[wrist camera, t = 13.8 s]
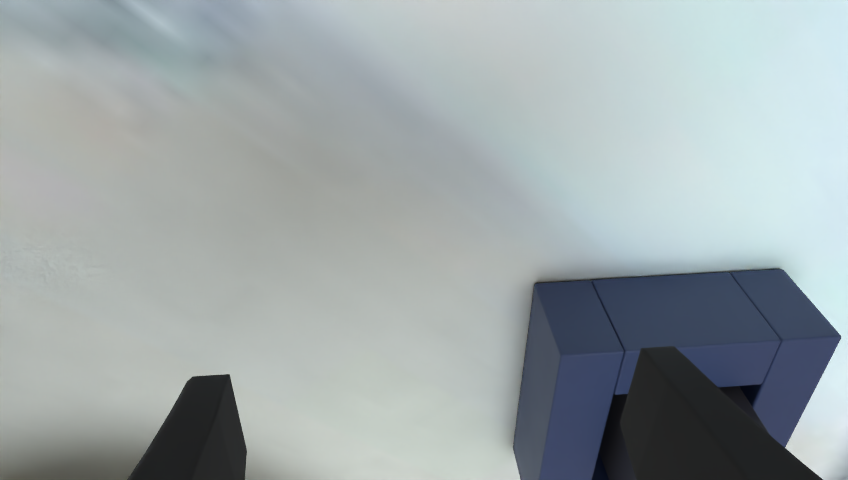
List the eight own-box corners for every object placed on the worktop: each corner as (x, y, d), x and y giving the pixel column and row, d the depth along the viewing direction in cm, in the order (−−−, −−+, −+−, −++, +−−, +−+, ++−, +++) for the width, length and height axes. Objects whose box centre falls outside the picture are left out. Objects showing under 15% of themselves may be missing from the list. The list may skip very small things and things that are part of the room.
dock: (512, 447, 28) (531, 524, 25) (534, 282, 23) (560, 355, 20) (716, 431, 29) (757, 504, 26) (783, 267, 23) (843, 336, 21)
